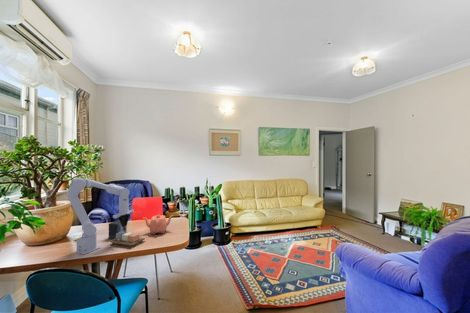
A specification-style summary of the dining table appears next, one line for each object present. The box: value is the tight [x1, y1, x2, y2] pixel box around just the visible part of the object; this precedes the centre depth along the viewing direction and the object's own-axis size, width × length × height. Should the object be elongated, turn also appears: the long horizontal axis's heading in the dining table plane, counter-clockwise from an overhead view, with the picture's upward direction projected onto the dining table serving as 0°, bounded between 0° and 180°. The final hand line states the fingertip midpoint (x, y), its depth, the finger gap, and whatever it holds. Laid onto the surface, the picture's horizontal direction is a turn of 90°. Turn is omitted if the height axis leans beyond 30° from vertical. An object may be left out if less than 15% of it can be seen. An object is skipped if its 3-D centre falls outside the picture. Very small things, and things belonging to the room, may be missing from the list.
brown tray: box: [109, 236, 146, 250], centre depth 136 cm, size 11×18×2 cm, turn 69°
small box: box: [108, 219, 128, 240], centre depth 148 cm, size 11×6×10 cm, turn 168°
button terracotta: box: [128, 233, 140, 242], centre depth 134 cm, size 4×4×4 cm
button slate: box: [116, 231, 127, 240], centre depth 138 cm, size 4×4×4 cm
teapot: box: [142, 214, 174, 236], centre depth 155 cm, size 15×17×13 cm
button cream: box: [122, 232, 134, 241], centre depth 136 cm, size 4×4×4 cm
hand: (124, 226), depth 139 cm, fingers closed
